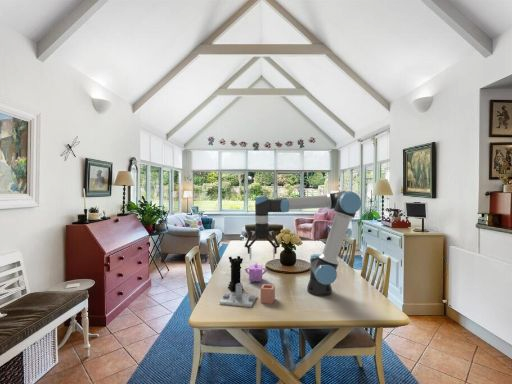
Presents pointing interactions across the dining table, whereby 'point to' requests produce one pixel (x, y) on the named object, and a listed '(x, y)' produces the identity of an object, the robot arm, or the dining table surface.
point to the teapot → (255, 272)
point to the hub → (267, 293)
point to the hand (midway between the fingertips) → (262, 259)
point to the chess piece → (235, 273)
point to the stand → (238, 298)
